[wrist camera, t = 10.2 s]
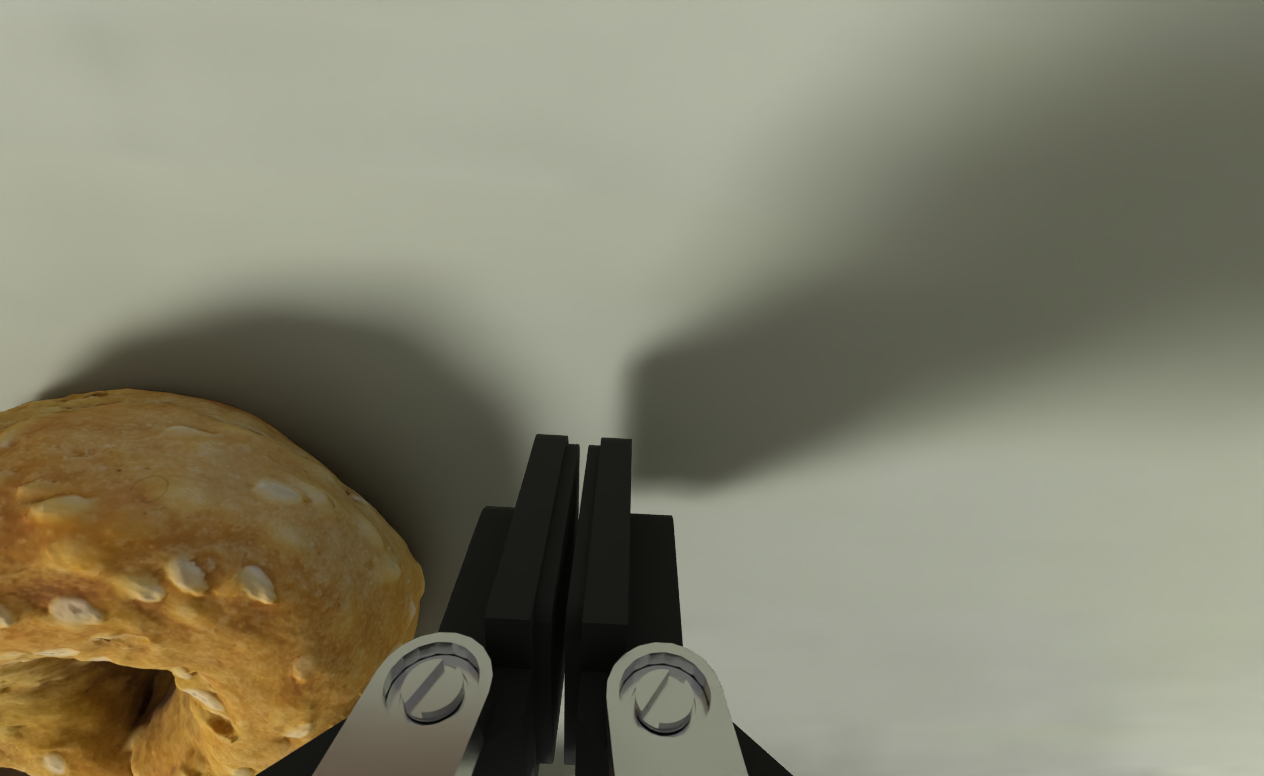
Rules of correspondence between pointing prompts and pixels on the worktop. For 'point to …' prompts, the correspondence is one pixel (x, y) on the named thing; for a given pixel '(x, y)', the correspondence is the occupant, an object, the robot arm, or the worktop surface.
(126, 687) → the bagel
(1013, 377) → the worktop surface
